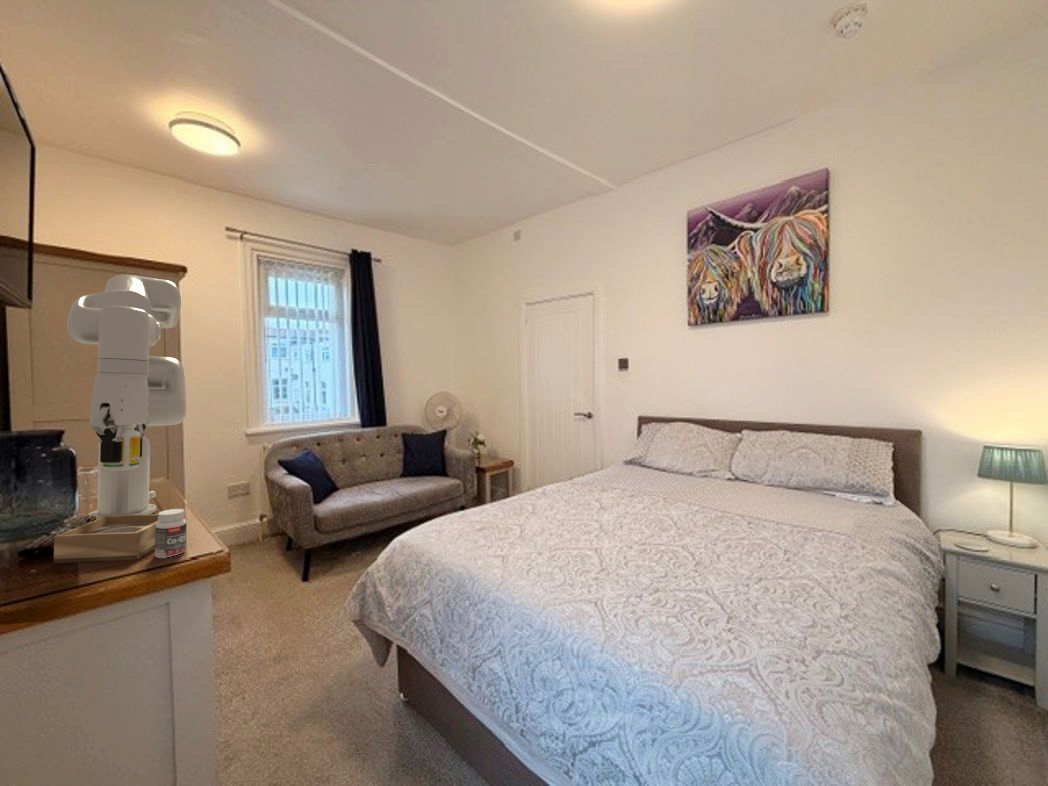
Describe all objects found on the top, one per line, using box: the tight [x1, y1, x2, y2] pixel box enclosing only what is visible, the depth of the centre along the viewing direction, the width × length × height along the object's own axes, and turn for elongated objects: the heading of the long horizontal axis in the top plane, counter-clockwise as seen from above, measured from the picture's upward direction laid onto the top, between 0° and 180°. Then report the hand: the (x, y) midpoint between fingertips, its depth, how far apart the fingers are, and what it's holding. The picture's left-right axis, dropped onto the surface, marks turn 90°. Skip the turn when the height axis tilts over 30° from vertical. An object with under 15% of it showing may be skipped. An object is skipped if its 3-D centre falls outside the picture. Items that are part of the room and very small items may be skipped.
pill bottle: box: [154, 508, 187, 559], centre depth 85 cm, size 5×5×8 cm
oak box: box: [53, 513, 160, 564], centre depth 87 cm, size 13×13×5 cm
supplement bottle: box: [103, 423, 140, 471], centre depth 87 cm, size 5×5×10 cm
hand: (122, 458), depth 87 cm, fingers closed on supplement bottle, 5 cm apart
